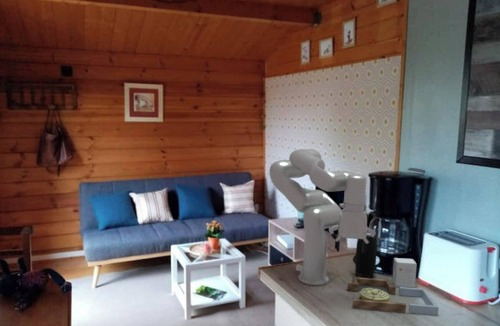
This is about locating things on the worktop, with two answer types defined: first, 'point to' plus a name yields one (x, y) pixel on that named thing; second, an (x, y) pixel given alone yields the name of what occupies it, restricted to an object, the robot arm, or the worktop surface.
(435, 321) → the worktop surface
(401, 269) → the small box
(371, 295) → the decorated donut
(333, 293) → the worktop surface
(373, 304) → the low maze walls
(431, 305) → the frame
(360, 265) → the portable speaker
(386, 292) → the mat
